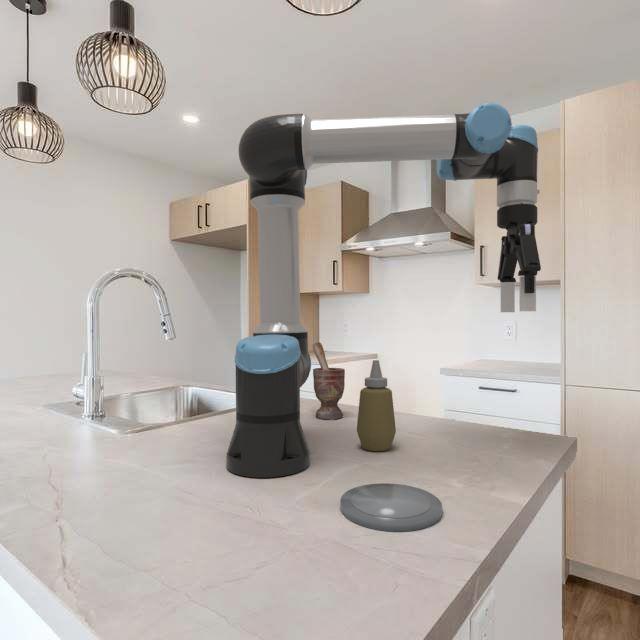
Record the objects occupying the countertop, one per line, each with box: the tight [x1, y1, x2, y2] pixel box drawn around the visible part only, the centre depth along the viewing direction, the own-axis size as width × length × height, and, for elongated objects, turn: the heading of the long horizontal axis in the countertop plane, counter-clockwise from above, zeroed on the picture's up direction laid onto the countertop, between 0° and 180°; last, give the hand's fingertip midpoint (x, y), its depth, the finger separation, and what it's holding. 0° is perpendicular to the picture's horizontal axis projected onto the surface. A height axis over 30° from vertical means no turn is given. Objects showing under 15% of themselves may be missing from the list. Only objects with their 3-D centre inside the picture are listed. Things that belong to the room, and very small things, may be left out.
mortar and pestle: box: [312, 342, 346, 421], centre depth 125 cm, size 12×9×20 cm
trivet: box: [339, 482, 443, 533], centre depth 64 cm, size 14×14×1 cm
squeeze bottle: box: [356, 359, 397, 452], centre depth 94 cm, size 8×8×18 cm
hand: (516, 312), depth 93 cm, fingers open, 13 cm apart
